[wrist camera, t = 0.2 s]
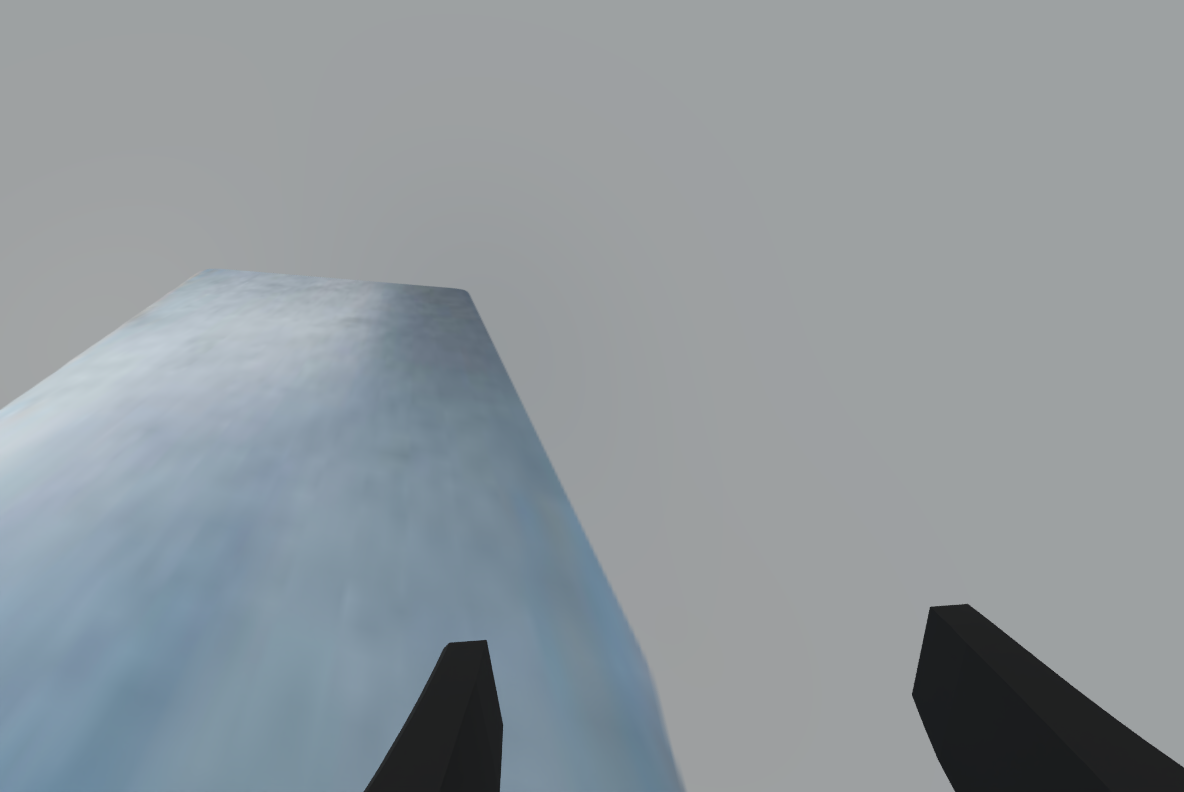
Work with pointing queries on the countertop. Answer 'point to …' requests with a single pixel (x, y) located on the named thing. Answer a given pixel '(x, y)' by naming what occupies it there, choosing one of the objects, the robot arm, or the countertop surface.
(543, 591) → the countertop surface
